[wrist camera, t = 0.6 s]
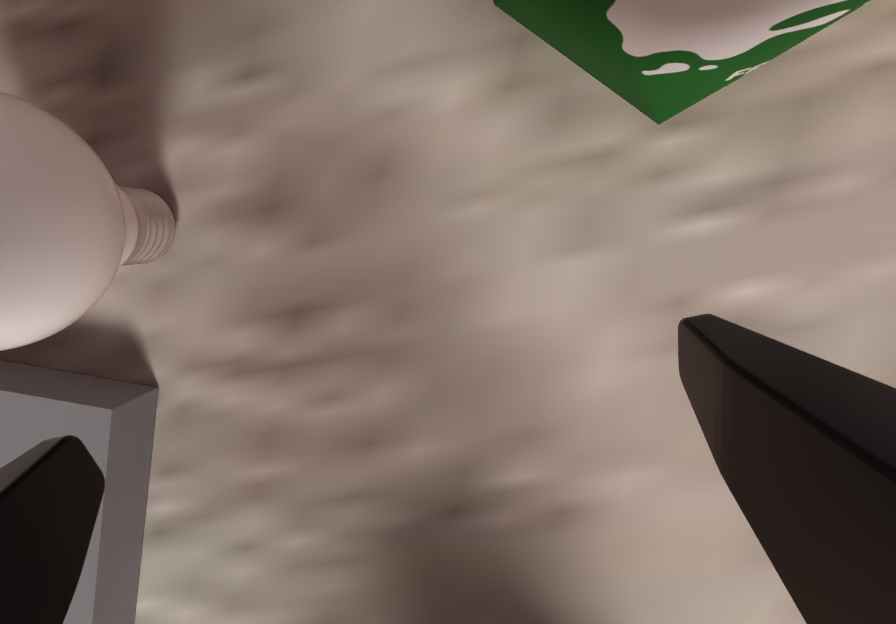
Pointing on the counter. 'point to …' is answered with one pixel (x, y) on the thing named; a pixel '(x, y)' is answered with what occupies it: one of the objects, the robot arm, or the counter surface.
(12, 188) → the lightbulb
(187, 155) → the counter surface
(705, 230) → the counter surface
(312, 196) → the counter surface
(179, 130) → the counter surface
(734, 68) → the milk carton
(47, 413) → the holder
